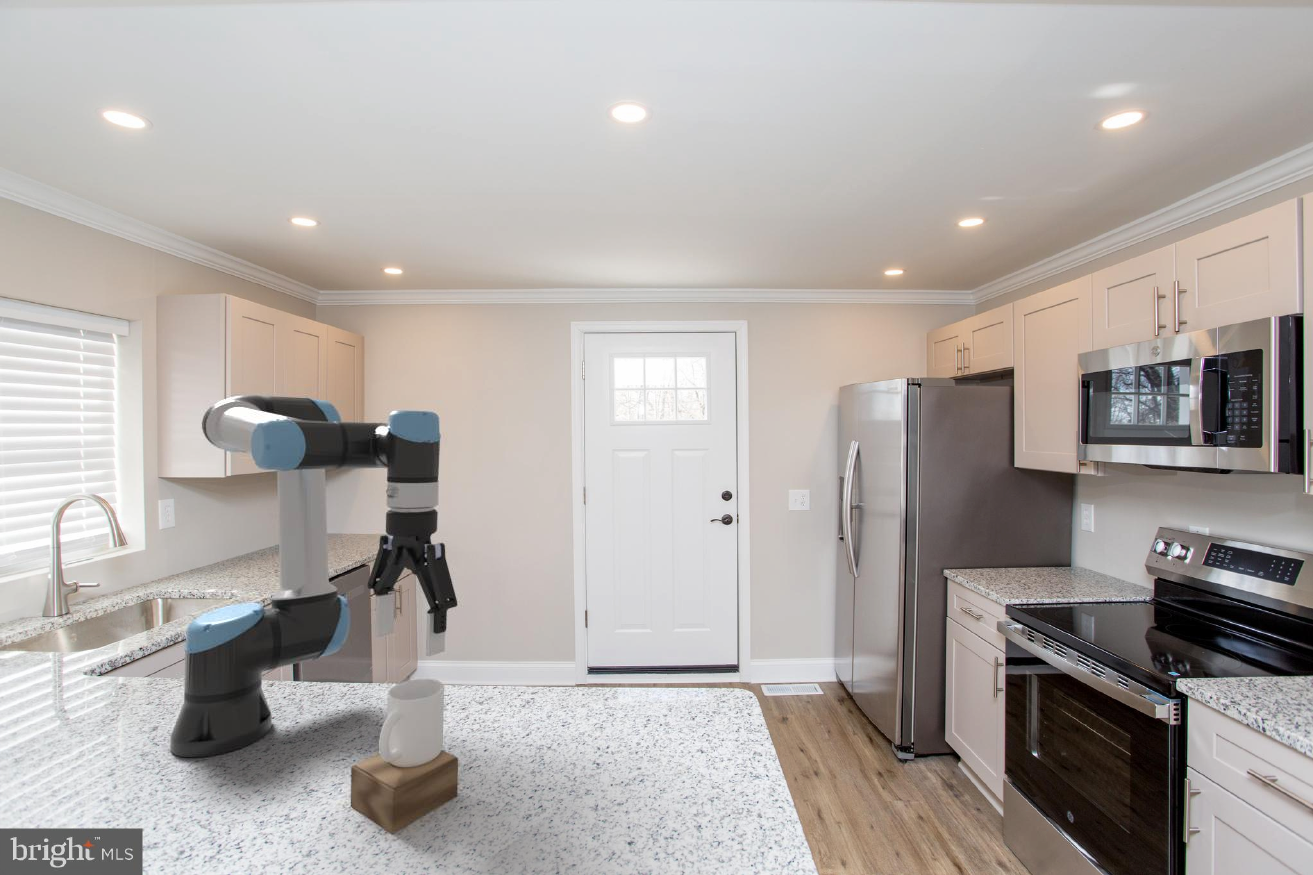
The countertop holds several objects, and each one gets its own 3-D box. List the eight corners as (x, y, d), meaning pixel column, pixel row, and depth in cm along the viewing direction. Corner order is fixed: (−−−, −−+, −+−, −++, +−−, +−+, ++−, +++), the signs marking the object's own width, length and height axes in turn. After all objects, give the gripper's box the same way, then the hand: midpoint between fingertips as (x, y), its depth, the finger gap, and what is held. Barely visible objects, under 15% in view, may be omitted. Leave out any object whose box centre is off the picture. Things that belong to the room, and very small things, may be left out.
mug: (403, 787, 84) (404, 714, 84) (355, 777, 86) (356, 707, 86) (453, 745, 95) (454, 682, 95) (409, 738, 97) (411, 675, 98)
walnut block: (350, 806, 89) (351, 764, 89) (415, 773, 98) (416, 735, 98) (392, 834, 83) (393, 789, 83) (457, 796, 92) (458, 755, 92)
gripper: (346, 503, 96) (343, 633, 96) (440, 518, 82) (436, 670, 82) (389, 500, 102) (386, 622, 102) (483, 513, 88) (480, 654, 88)
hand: (408, 643), depth 92 cm, fingers open, 13 cm apart
